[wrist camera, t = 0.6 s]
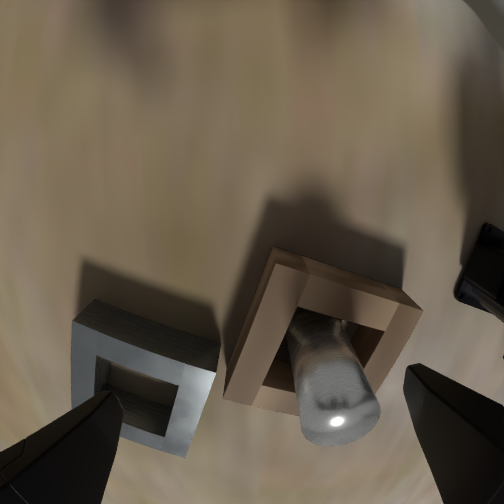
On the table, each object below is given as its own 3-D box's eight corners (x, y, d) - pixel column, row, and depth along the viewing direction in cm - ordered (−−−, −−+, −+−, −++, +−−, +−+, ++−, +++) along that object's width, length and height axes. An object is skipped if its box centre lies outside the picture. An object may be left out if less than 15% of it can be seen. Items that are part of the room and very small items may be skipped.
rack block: (221, 344, 23) (216, 373, 19) (191, 429, 25) (184, 457, 22) (94, 299, 22) (72, 320, 18) (87, 391, 25) (72, 415, 21)
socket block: (402, 289, 21) (423, 310, 18) (344, 395, 24) (353, 424, 21) (272, 246, 21) (275, 263, 17) (226, 368, 23) (222, 398, 20)
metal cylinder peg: (350, 315, 22) (394, 397, 13) (327, 360, 23) (356, 449, 14) (299, 300, 22) (323, 384, 13) (278, 348, 23) (288, 440, 14)
